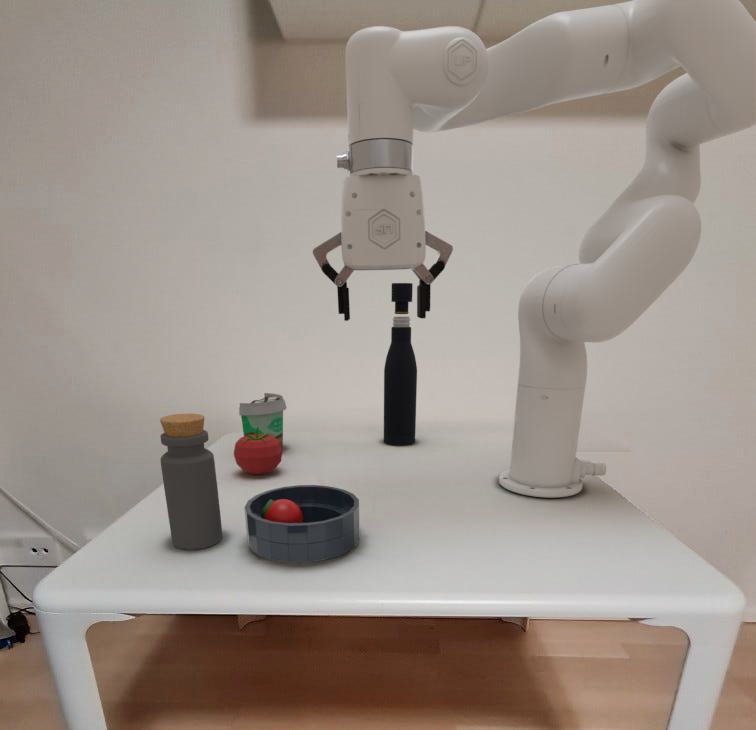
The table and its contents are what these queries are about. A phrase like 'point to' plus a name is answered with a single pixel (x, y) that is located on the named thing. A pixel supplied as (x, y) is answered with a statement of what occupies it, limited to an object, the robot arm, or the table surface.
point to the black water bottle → (400, 374)
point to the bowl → (305, 524)
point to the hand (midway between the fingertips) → (384, 319)
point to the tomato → (258, 453)
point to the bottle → (190, 483)
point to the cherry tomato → (282, 511)
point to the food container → (264, 416)
